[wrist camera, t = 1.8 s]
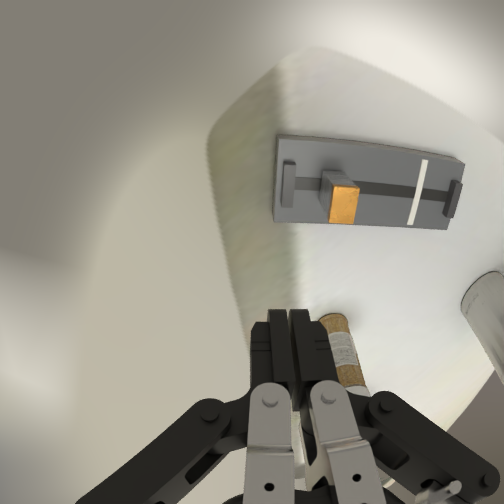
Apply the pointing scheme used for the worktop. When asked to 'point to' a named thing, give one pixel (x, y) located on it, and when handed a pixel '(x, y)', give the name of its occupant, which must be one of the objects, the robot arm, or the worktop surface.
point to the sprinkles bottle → (345, 354)
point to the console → (366, 182)
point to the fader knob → (338, 197)
